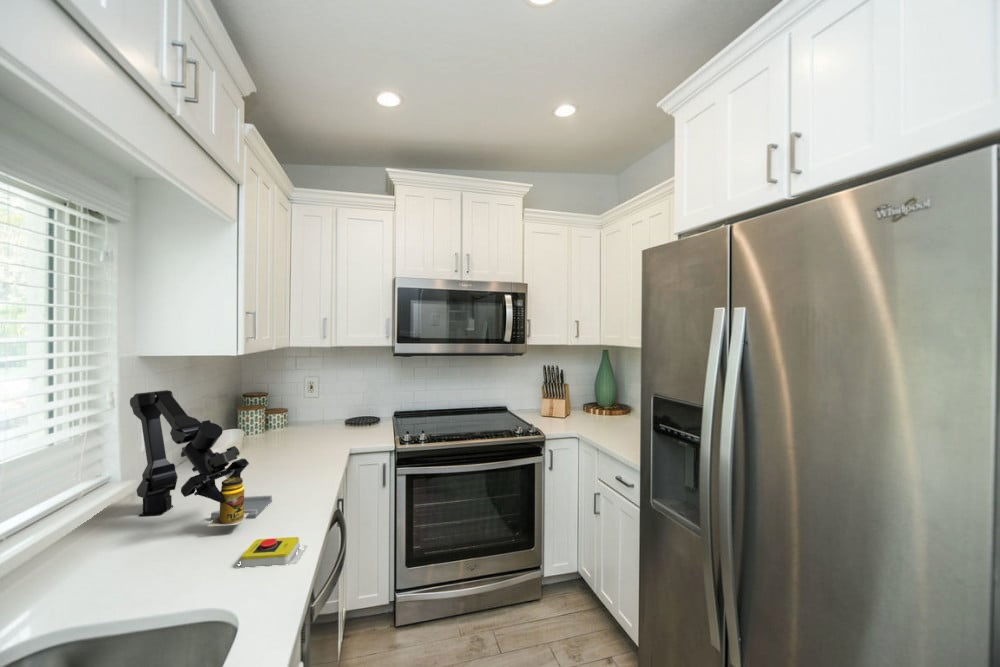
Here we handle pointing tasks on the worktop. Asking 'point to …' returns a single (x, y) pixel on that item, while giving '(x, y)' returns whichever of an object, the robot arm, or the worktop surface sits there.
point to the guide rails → (246, 499)
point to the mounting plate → (254, 507)
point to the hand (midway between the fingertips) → (233, 497)
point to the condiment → (231, 503)
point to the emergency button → (272, 552)
